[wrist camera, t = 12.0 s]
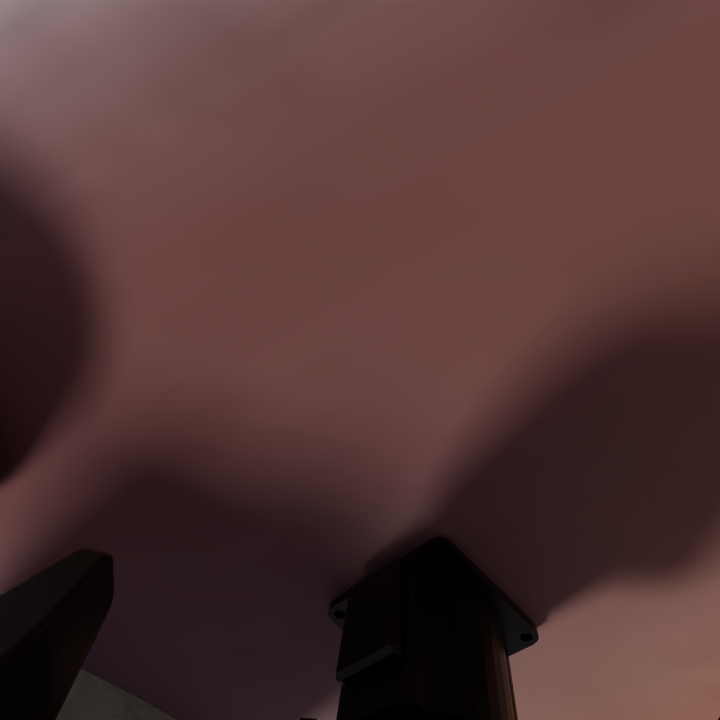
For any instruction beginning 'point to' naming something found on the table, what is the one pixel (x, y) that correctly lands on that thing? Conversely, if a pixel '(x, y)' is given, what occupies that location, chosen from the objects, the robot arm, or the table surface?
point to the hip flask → (105, 702)
